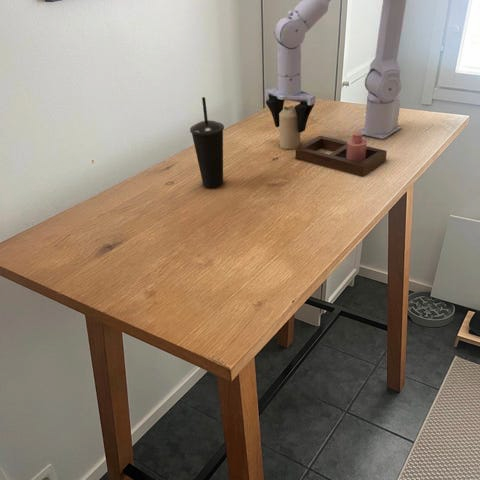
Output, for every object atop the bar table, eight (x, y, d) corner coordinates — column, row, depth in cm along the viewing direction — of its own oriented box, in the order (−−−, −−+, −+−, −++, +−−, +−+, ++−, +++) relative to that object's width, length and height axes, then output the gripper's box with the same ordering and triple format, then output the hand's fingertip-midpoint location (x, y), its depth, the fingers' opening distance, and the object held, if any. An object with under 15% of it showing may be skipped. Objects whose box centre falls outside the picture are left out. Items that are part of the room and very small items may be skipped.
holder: (319, 145, 136) (319, 135, 134) (385, 160, 125) (387, 150, 123) (295, 158, 130) (295, 148, 128) (362, 176, 119) (363, 166, 117)
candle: (276, 148, 136) (275, 110, 130) (284, 140, 140) (284, 103, 133) (295, 150, 134) (295, 111, 127) (303, 142, 138) (303, 105, 131)
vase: (352, 158, 127) (354, 128, 123) (369, 162, 125) (371, 132, 120) (341, 165, 125) (343, 134, 120) (358, 169, 122) (361, 138, 117)
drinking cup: (225, 191, 118) (216, 103, 105) (193, 191, 120) (181, 103, 107) (232, 177, 124) (224, 92, 111) (202, 177, 125) (191, 92, 113)
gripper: (256, 74, 127) (259, 128, 136) (303, 81, 119) (303, 138, 128) (274, 67, 131) (275, 120, 140) (320, 74, 123) (319, 130, 132)
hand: (290, 128), depth 134 cm, fingers open, 7 cm apart
